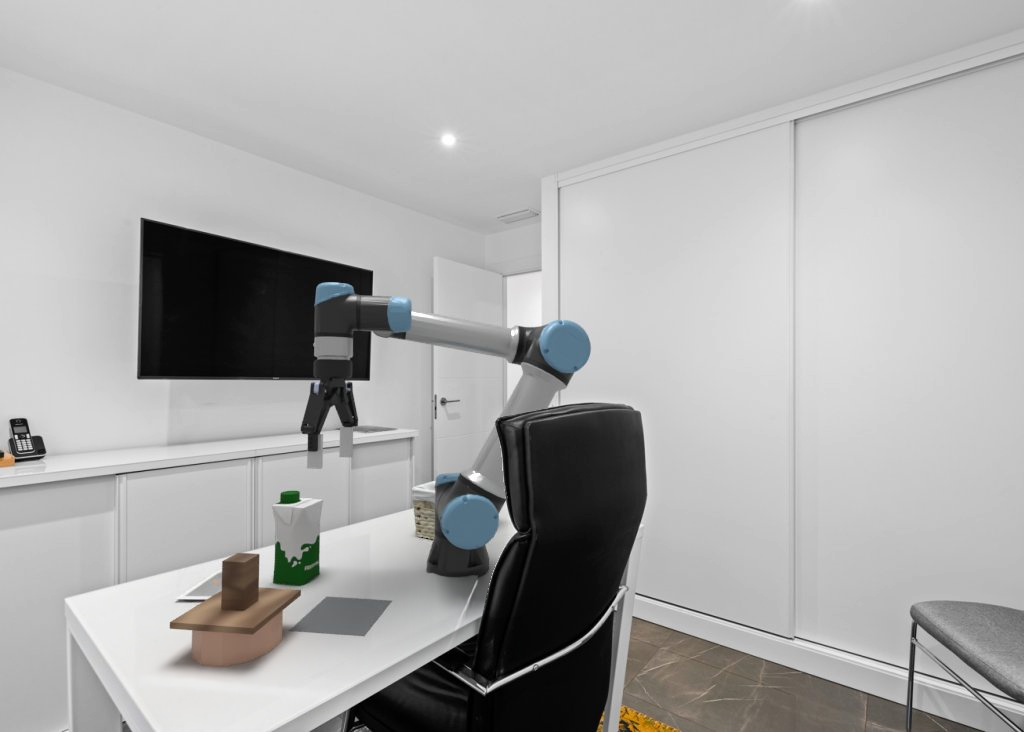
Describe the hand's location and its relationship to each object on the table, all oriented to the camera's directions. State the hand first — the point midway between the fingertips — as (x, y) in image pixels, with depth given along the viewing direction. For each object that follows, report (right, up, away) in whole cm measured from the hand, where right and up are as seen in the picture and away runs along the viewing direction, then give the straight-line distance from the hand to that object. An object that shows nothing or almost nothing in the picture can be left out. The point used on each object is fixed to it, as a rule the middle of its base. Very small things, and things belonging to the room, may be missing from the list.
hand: (331, 462), depth 102 cm
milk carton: (-11, -29, +10) cm, 33 cm away
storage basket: (+20, -30, +49) cm, 61 cm away
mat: (+5, -29, -7) cm, 30 cm away
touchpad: (-28, -29, +7) cm, 41 cm away
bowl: (-9, -28, -18) cm, 35 cm away
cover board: (-9, -22, -18) cm, 30 cm away
